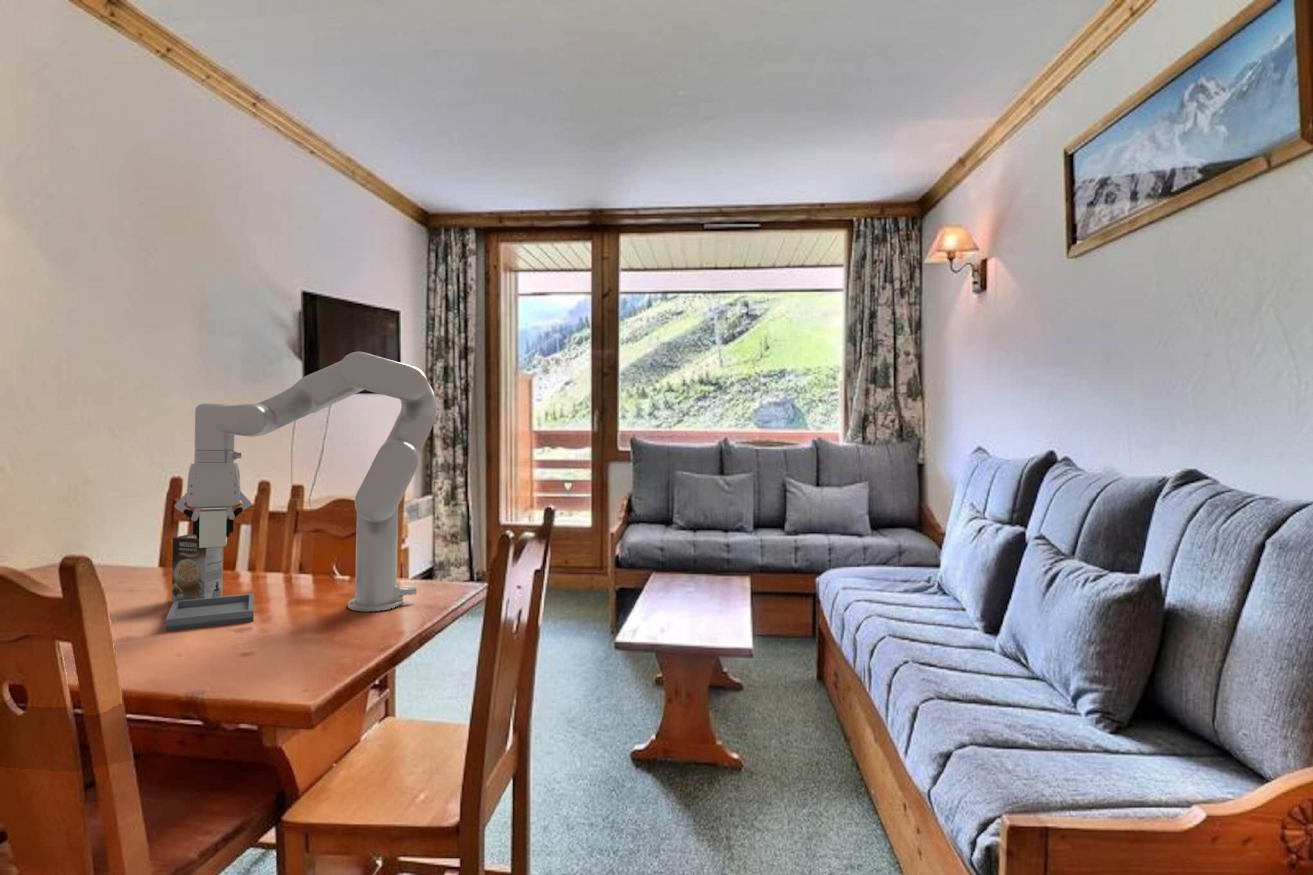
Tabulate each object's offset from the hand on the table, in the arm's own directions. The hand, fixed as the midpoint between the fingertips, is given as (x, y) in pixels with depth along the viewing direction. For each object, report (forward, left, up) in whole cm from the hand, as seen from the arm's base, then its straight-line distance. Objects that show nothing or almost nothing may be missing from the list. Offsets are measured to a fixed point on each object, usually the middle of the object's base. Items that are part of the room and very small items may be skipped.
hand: (213, 536), depth 151 cm
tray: (0, 0, -19) cm, 19 cm away
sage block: (0, 0, -2) cm, 2 cm away
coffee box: (+4, -17, -19) cm, 26 cm away
